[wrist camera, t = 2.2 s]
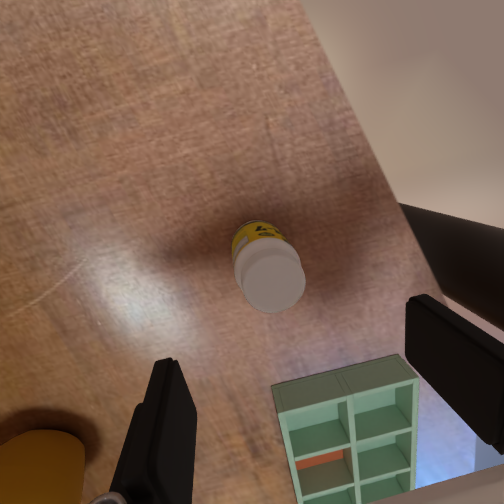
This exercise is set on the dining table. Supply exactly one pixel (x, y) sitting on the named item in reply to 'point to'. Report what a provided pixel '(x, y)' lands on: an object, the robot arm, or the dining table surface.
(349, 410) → the tray
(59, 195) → the dining table surface
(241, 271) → the supplement bottle
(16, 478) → the apple
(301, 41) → the dining table surface
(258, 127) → the dining table surface
